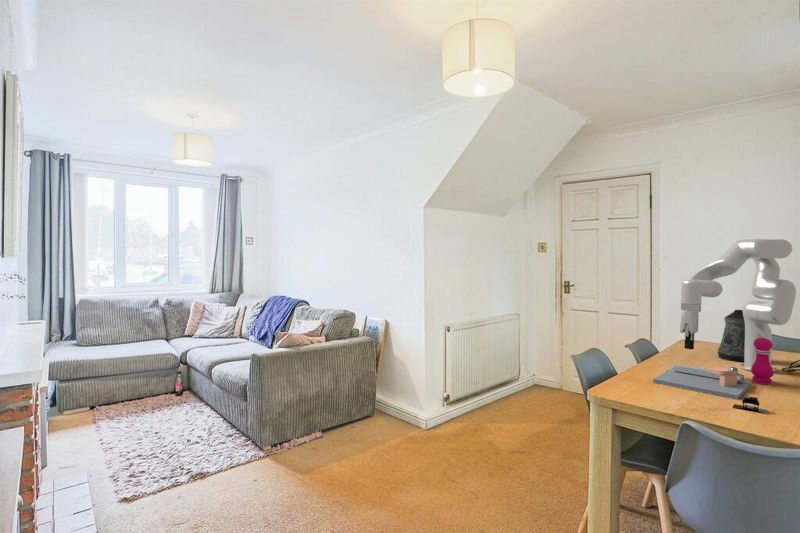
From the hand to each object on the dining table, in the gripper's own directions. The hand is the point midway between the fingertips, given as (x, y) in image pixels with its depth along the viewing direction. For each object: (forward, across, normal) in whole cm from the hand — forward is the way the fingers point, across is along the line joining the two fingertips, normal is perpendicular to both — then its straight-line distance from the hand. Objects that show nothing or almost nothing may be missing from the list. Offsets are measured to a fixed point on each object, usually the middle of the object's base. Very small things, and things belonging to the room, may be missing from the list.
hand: (689, 348), depth 192 cm
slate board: (+11, +14, +8) cm, 20 cm away
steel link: (+9, +6, +8) cm, 14 cm away
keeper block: (+11, +13, +15) cm, 23 cm away
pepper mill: (+11, -8, +24) cm, 28 cm away
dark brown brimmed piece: (+12, +36, +28) cm, 47 cm away
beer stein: (+10, -52, +10) cm, 53 cm away
